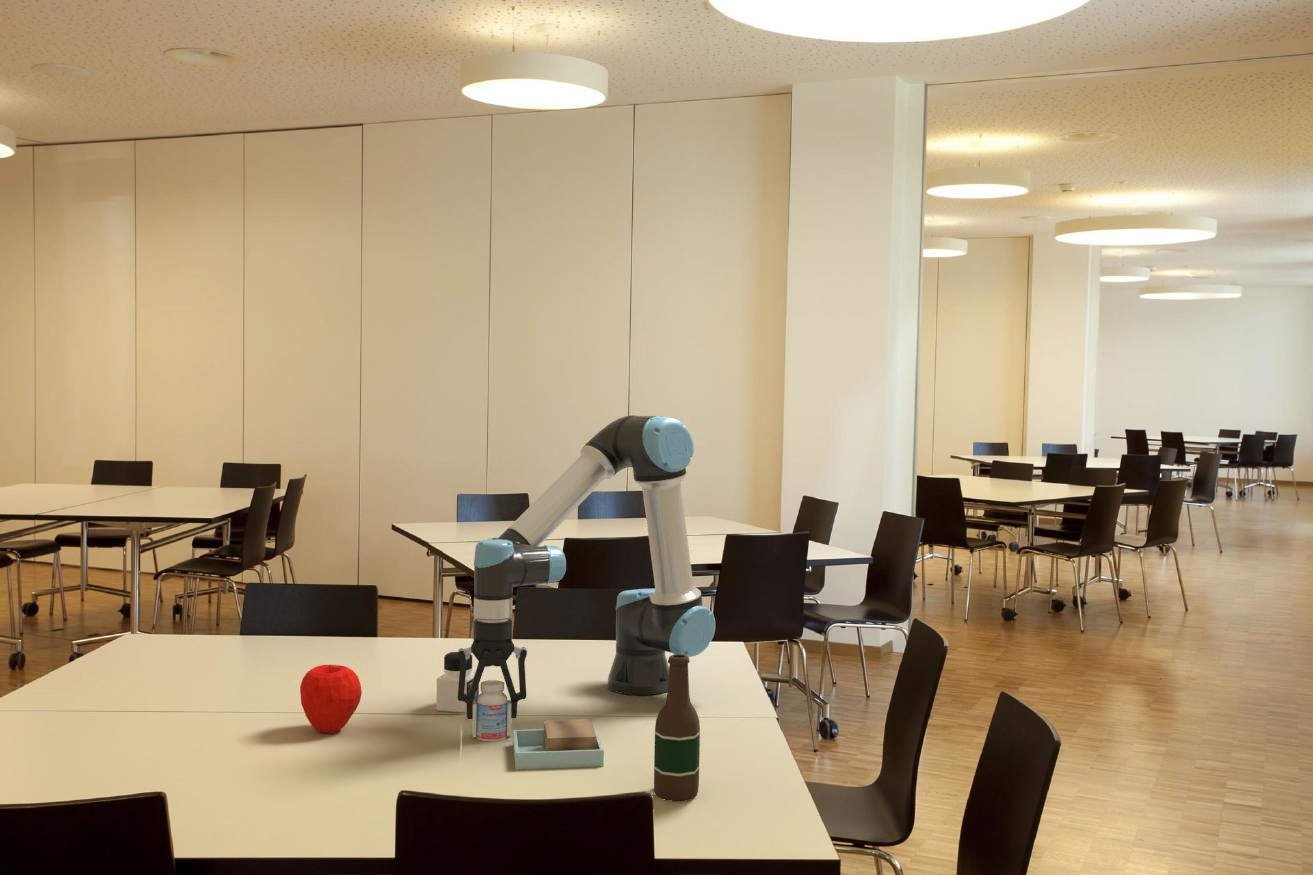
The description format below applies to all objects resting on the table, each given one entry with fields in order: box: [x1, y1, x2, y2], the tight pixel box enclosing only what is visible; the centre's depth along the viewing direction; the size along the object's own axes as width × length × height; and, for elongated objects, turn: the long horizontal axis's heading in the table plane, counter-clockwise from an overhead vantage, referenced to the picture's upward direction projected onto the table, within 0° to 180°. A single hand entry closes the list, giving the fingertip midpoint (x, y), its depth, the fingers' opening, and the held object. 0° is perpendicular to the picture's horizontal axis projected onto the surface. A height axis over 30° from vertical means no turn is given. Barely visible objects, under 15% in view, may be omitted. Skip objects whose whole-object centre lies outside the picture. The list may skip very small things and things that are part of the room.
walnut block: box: [543, 718, 597, 751], centre depth 208 cm, size 9×11×5 cm
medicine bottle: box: [435, 650, 480, 714], centre depth 240 cm, size 7×7×12 cm
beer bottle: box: [653, 654, 701, 802], centre depth 189 cm, size 8×8×24 cm
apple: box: [299, 664, 363, 735], centre depth 222 cm, size 12×12×13 cm
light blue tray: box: [512, 727, 605, 770], centre depth 207 cm, size 16×14×4 cm
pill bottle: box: [475, 679, 508, 742], centre depth 218 cm, size 6×6×11 cm
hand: (491, 734), depth 218 cm, fingers closed on pill bottle, 6 cm apart
